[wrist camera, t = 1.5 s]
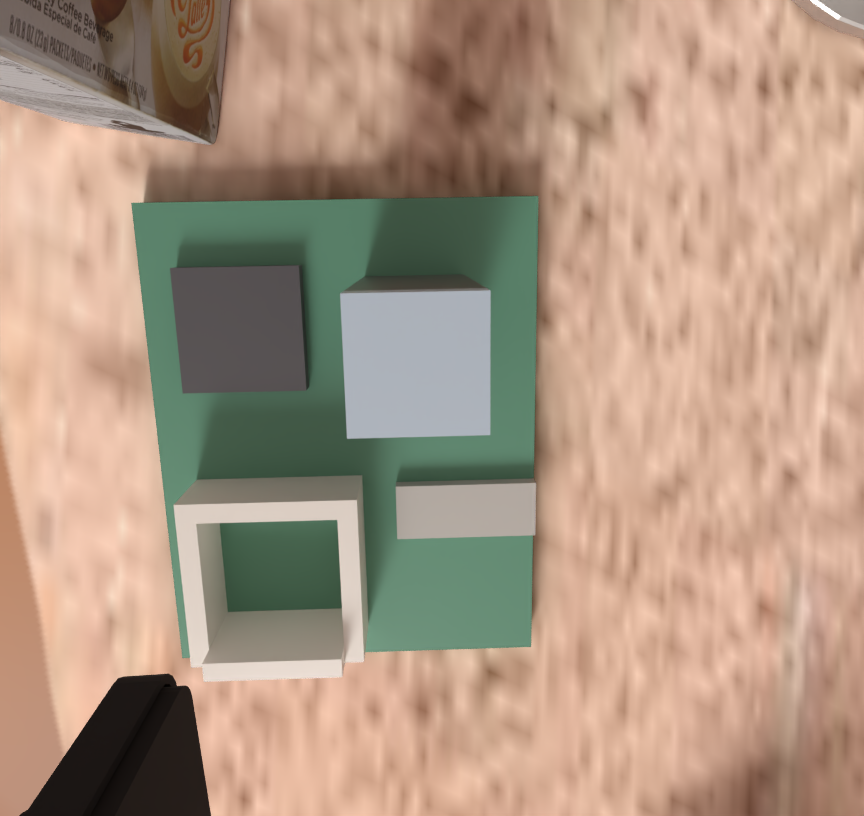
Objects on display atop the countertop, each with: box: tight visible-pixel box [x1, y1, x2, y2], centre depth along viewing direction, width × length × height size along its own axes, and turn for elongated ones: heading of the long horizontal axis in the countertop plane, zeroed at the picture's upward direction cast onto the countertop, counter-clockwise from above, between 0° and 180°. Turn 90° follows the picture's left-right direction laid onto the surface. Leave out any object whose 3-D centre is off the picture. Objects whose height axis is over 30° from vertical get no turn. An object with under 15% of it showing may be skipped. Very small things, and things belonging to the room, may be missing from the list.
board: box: [131, 196, 538, 658], centre depth 30 cm, size 20×16×2 cm
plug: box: [340, 274, 491, 439], centre depth 24 cm, size 4×4×10 cm
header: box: [174, 475, 369, 682], centre depth 29 cm, size 7×7×4 cm
